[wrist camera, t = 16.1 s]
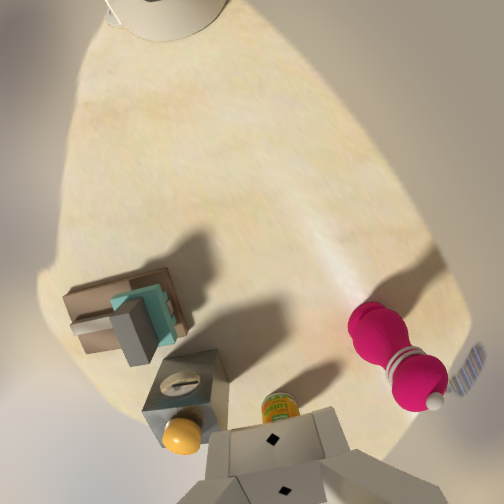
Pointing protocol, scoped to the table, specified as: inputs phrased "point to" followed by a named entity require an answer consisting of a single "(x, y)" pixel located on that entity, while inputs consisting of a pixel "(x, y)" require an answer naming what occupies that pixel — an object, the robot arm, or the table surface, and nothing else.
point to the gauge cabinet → (189, 394)
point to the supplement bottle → (279, 407)
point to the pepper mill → (398, 357)
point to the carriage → (142, 323)
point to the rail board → (100, 308)
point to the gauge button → (182, 436)
